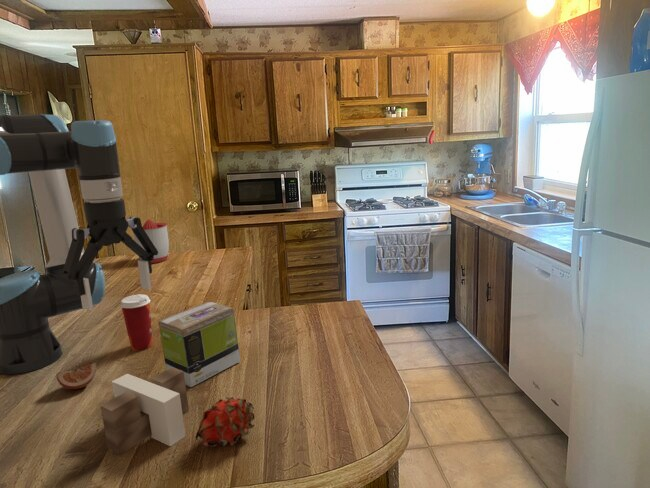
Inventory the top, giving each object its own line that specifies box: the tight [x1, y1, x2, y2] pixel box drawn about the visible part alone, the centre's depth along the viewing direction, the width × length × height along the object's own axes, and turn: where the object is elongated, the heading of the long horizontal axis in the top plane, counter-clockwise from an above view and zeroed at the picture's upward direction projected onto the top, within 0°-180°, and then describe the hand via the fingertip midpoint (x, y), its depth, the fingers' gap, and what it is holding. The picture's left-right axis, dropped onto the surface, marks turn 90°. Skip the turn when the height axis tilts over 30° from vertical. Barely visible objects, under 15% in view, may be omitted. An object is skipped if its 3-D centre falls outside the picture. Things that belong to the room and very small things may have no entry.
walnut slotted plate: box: [99, 367, 190, 456], centre depth 91 cm, size 16×4×9 cm, turn 146°
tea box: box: [158, 300, 241, 388], centre depth 113 cm, size 15×10×15 cm
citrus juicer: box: [132, 219, 170, 265], centre depth 222 cm, size 16×17×20 cm
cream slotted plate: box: [111, 373, 186, 447], centre depth 91 cm, size 16×4×9 cm, turn 57°
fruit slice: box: [56, 362, 98, 390], centre depth 109 cm, size 8×7×5 cm
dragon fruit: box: [195, 396, 255, 447], centre depth 87 cm, size 8×8×12 cm
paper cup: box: [119, 293, 154, 352], centre depth 128 cm, size 8×8×14 cm
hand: (118, 298), depth 100 cm, fingers open, 13 cm apart
